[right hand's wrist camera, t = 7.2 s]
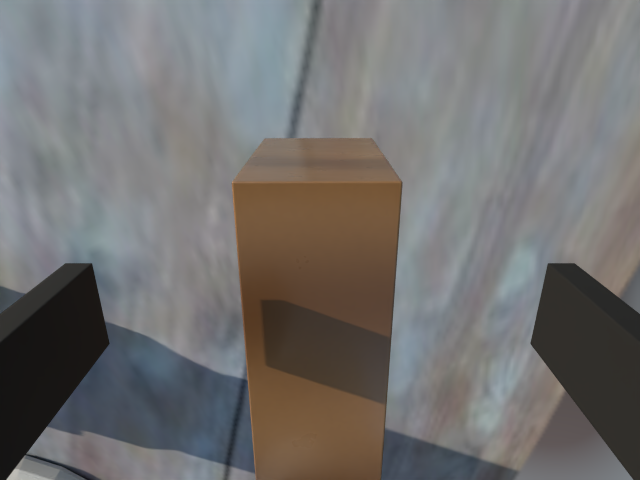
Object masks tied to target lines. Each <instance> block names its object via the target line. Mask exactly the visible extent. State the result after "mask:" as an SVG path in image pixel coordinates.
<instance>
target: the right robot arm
mask: <svg viewBox="0 0 640 480" xmlns="http://www.w3.org/2000/svg"><path fill="white" fill-rule="evenodd" d="M108 345H109V339H108V335H107V330H106V325H105V321H104V316H103V312H102V307H101V303H100V298H99V293H98V289H97V284H96V280H95V275H94V270H93V266H92V263H65V264H64V265H63V266H61V267H60V268H59V269H58V270H56V271H55V272H54V273H52V274H51V275H50V276H49V277H47V278H46V279H45V280H43V281H42V282H41V283H40V284H38V285H37V286H36V287H34V288H33V289H32V290H31V291H29V292H28V293H27V294H25V295H24V296H23V297H22V298H20V299H19V300H18V301H16V302H15V303H14V304H13V305H11V306H10V307H9V308H7V309H6V310H5V311H4V312H2V313H1V314H0V480H7V478H8V477H9V476H10V474H11V473H12V472H13V470H14V469H15V468H16V466H17V465H18V464H19V462H20V461H21V460H22V459H23V457H24V456H25V455H26V453H27V452H28V451H29V449H30V448H31V447H32V445H33V444H34V443H35V441H36V440H37V439H38V437H39V436H40V435H41V433H42V432H43V431H44V429H45V428H46V427H47V426H48V424H49V423H50V422H51V420H52V419H53V418H54V416H55V415H56V414H57V412H58V411H59V410H60V408H61V407H62V406H63V404H64V403H65V402H66V400H67V399H68V398H69V396H70V395H71V394H72V393H73V391H74V390H75V389H76V387H77V386H78V385H79V383H80V382H81V381H82V379H83V378H84V377H85V375H86V374H87V373H88V371H89V370H90V369H91V367H92V366H93V365H94V363H95V362H96V361H97V359H98V358H99V357H100V356H101V354H102V353H103V352H104V350H105V349H106V348H107V346H108ZM531 345H532V346H533V348H534V349H535V350H536V352H537V353H538V354H539V356H540V357H541V358H542V359H543V361H544V362H545V363H546V365H547V366H548V367H549V369H550V370H551V371H552V373H553V374H554V375H555V377H556V378H557V379H558V381H559V382H560V383H561V385H562V386H563V387H564V389H565V390H566V391H567V393H568V394H569V395H570V396H571V398H572V399H573V400H574V402H575V403H576V404H577V406H578V407H579V408H580V410H581V411H582V412H583V414H584V415H585V416H586V418H587V419H588V420H589V422H590V423H591V424H592V425H593V427H594V428H595V429H596V431H597V432H598V433H599V435H600V436H601V437H602V439H603V440H604V441H605V443H606V444H607V445H608V447H609V448H610V449H611V451H612V452H613V453H614V455H615V456H616V457H617V459H618V460H619V461H620V462H621V464H622V465H623V466H624V468H625V469H626V470H627V472H628V473H629V474H630V476H631V477H632V478H633V480H640V314H639V313H638V312H636V311H635V310H634V309H633V308H631V307H630V306H629V305H627V304H626V303H625V302H624V301H622V300H621V299H620V298H618V297H617V296H616V295H615V294H613V293H612V292H611V291H609V290H608V289H607V288H606V287H604V286H603V285H602V284H600V283H599V282H598V281H597V280H595V279H594V278H593V277H591V276H590V275H589V274H588V273H586V272H585V271H584V270H582V269H581V268H580V267H579V266H577V265H576V264H575V263H548V266H547V270H546V275H545V280H544V284H543V289H542V293H541V298H540V303H539V307H538V312H537V316H536V321H535V325H534V330H533V335H532V339H531Z"/></svg>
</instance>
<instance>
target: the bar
mask: <svg viewBox="0 0 640 480" xmlns="http://www.w3.org/2000/svg"><path fill="white" fill-rule="evenodd" d="M232 191H233V204H234V216H235V228H236V241H237V253H238V265H239V278H240V290H241V302H242V315H243V327H244V340H245V352H246V364H247V377H248V389H249V401H250V414H251V426H252V438H253V451H254V463H255V475H256V480H381V474H382V460H383V446H384V432H385V418H386V404H387V390H388V376H389V363H390V349H391V335H392V321H393V307H394V293H395V279H396V265H397V252H398V238H399V224H400V210H401V196H402V181H401V179H400V178H399V177H398V175H397V174H396V172H395V171H394V169H393V168H392V166H391V165H390V164H389V162H388V161H387V159H386V158H385V156H384V155H383V153H382V152H381V150H380V149H379V148H378V146H377V145H376V143H375V142H374V140H373V139H372V138H267V139H264V140H263V141H262V143H261V144H260V145H259V147H258V148H257V149H256V151H255V152H254V153H253V155H252V156H251V157H250V159H249V160H248V161H247V163H246V164H245V165H244V167H243V168H242V170H241V171H240V172H239V174H238V175H237V176H236V178H235V179H234V180H233V182H232Z"/></svg>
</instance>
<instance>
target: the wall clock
mask: <svg viewBox="0 0 640 480" xmlns="http://www.w3.org/2000/svg"><path fill="white" fill-rule="evenodd" d="M7 480H86V479H84V478H82V477H81V476H79V475H77V474H75V473H73V472H71V471H69V470H67V469H65V468H63V467H61V466H58V465H55V464H52V463H49V462H46V461H42V460H39V459H36V458H33V457H30V456H27V455H25V456H24V457H23V459H22V460H21V461H20V462H19V464H18V465H17V466H16V468H15V469H14V470H13V472H12V473H11V474H10V476H9V477H8V478H7Z"/></svg>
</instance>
